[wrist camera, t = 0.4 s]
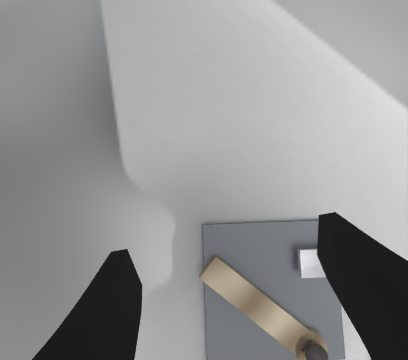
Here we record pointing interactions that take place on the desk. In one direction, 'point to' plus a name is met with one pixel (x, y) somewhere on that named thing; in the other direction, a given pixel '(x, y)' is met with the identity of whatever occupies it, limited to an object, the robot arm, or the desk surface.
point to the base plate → (268, 289)
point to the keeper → (309, 264)
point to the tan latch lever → (264, 311)
